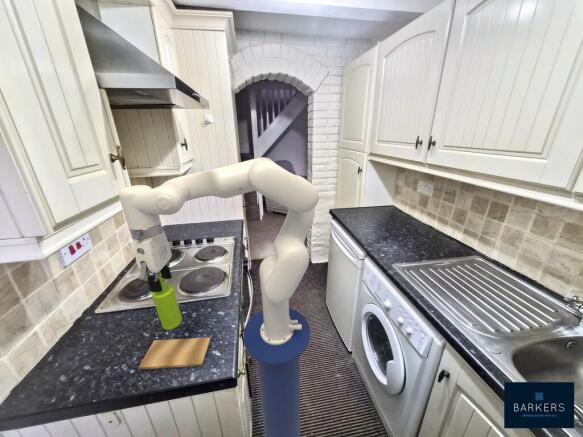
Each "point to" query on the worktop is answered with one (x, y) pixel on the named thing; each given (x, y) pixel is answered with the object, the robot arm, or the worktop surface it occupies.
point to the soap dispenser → (167, 305)
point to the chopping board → (176, 353)
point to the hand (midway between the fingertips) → (161, 284)
